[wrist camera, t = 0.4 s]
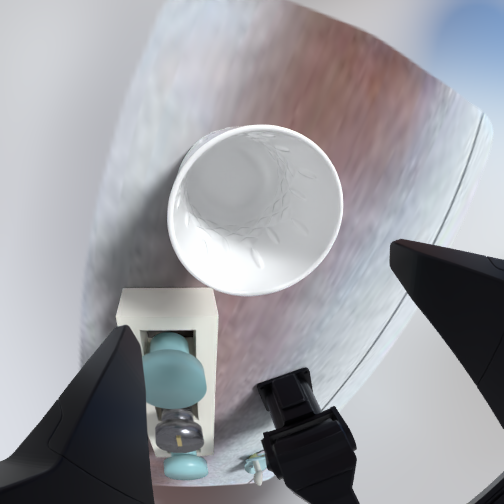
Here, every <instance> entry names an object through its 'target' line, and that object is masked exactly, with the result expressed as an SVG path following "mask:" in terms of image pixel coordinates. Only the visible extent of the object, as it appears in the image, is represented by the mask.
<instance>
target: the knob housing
mask: <svg viewBox="0 0 504 504" xmlns="http://www.w3.org/2000/svg"><path fill="white" fill-rule="evenodd" d="M218 317H219V316H218V311H217V306H216V302H215V297H214V292H213V289H212V288H123V290H122V294H121V298H120V302H119V306H118V310H117V314H116V320H117V325H118V326H122V325H128V326H129V327H130V328H131V330H132V331H133V333H134V335H135V337H136V338H137V340H138V342H139V343H140V346H141V351H142V357H143V356H144V355H146V354H148V353H150V342H151V340H152V338H148V334H147V330H193V337H186V338H185V339H186V340H187V342H188V346H189V354H191V355H192V356H194V357H195V358H197V359H198V360H199V361H200V362H201V364H202V365H203V368H204V373H205V379H206V386H207V391H206V394H205V396H204V397H203V398H202V399H201V400H200V401H199V402H197V403H196V404H194V405H192V411H193V419H194V422H196V423H198V424H199V425H200V426H201V427H202V432H203V438H204V445H203V447H201V448H200V449H198V450H196V452H197V456H209V455H214V413H215V382H216V358H217V336H218ZM146 411H147V433H148V436H149V439H150V442H151V444H152V447H153V450H154V452H155V455H156V457H171V452H168V451H164V450H162V449H160V448H159V447H158V446H157V445H156V441H155V427H156V425H157V424H158V423H160V422H162V414H161V408H160V407H156V406H153V405H151V404H148V403H147V402H146Z"/></svg>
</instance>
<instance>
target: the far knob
mask: <svg viewBox="0 0 504 504" xmlns="http://www.w3.org/2000/svg"><path fill="white" fill-rule="evenodd" d="M164 473H165V475H166V476H167V477H169V478H172V479H176V480H195V479H200V478H203V477H205V476H207V475H208V469H207V463H206V460H205V459H203V458H201V457H198V456H197V452H196V451H193V452H188V453H173V452H171V457H169V458H167V459H165V460H164Z"/></svg>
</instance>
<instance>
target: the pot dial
mask: <svg viewBox="0 0 504 504" xmlns="http://www.w3.org/2000/svg"><path fill="white" fill-rule="evenodd" d="M161 414H162V422H160V423H158V424H157V425H156V427H155V441H156V445H157V446H158V447H159V448H160V449H162V450H164V451H168V452H173V453H188V452H193V451H196V450H198V449H200V448H201V447H203V445H204V438H203V432H202V427H201V426H200V425H199V424H198V423H196V422H194V419H193V411H192V406H189V407H185V408H180V409H165V408H161Z"/></svg>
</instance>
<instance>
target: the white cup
mask: <svg viewBox="0 0 504 504" xmlns="http://www.w3.org/2000/svg"><path fill="white" fill-rule="evenodd" d="M342 214H343V195H342V188H341V184H340V180H339V177H338V175H337V172H336V170H335V168H334V166H333V164H332V163H331V161H330V160H329V158H328V157H327V156H326V154H325V153H324V152H323V151H322V150H321V149H320V148H319V147H318V146H317V145H316V144H315V143H314V142H312V141H311V140H310V139H308V138H306V137H305V136H303V135H301V134H299V133H297V132H295V131H292V130H290V129H287V128H283V127H279V126H273V125H250V126H237V127H229V128H224V129H221V130H217V131H214V132H212V133H209V134H208V135H206V136H204V137H203V138H201V139H200V140H199V141H198V142H197V143H195V144H194V145H193V146H192V147H191V149H190V150H189V151H188V153H187V154H186V156H185V158H184V159H183V161H182V163H181V165H180V168H179V170H178V173H177V176H176V179H175V182H174V184H173V187H172V190H171V193H170V197H169V201H168V209H167V226H168V233H169V237H170V241H171V244H172V246H173V249H174V251H175V253H176V255H177V257H178V258H179V260H180V262H181V263H182V264H183V266H184V267H185V268H186V269H187V270H188V272H189V273H190V274H191V275H193V276H194V277H195V278H196V279H197V280H199V281H200V282H202V283H203V284H205V285H206V286H208V287H210V288H212V289H214V290H217V291H220V292H223V293H226V294H230V295H236V296H260V295H266V294H270V293H274V292H277V291H280V290H283V289H285V288H288V287H290V286H292V285H293V284H295V283H297V282H299V281H300V280H302V279H303V278H304V277H306V276H307V275H308V274H310V273H311V272H312V271H313V270H314V269H315V268H316V267H317V266H318V265H319V264H320V263H321V262H322V260H323V259H324V258H325V256H326V255H327V254H328V252H329V251H330V249H331V247H332V245H333V243H334V241H335V239H336V237H337V234H338V231H339V228H340V225H341V220H342Z"/></svg>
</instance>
